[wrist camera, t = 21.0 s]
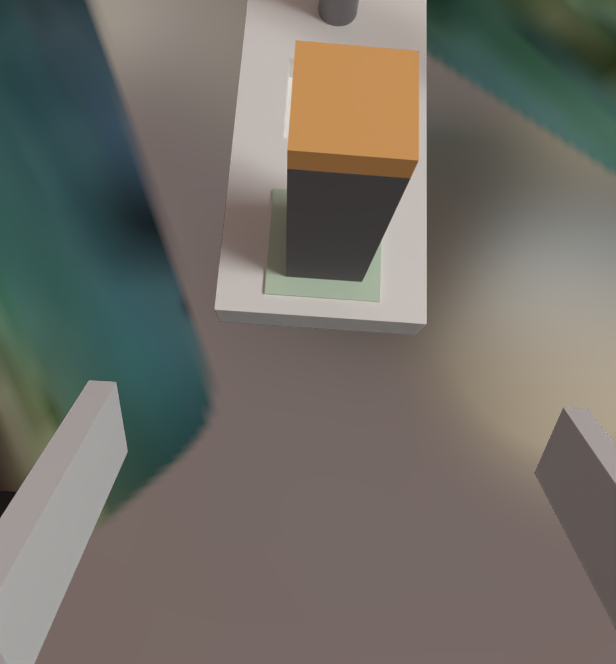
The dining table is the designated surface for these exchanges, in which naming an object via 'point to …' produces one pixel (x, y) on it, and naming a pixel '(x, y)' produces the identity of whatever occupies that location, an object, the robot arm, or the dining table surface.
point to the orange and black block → (347, 154)
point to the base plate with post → (271, 179)
